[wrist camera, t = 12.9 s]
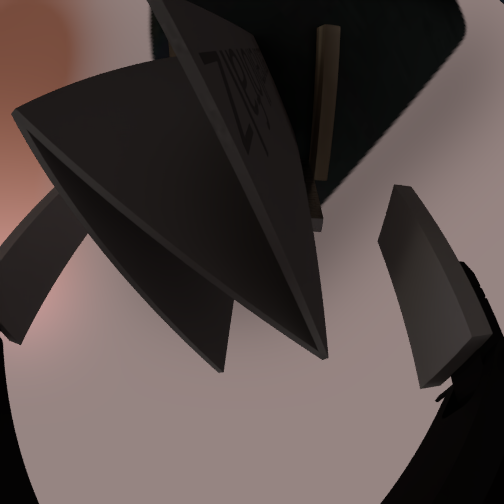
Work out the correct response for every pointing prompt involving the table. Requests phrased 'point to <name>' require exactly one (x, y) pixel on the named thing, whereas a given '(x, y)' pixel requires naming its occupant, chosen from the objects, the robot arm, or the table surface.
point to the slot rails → (321, 98)
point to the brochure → (190, 182)
